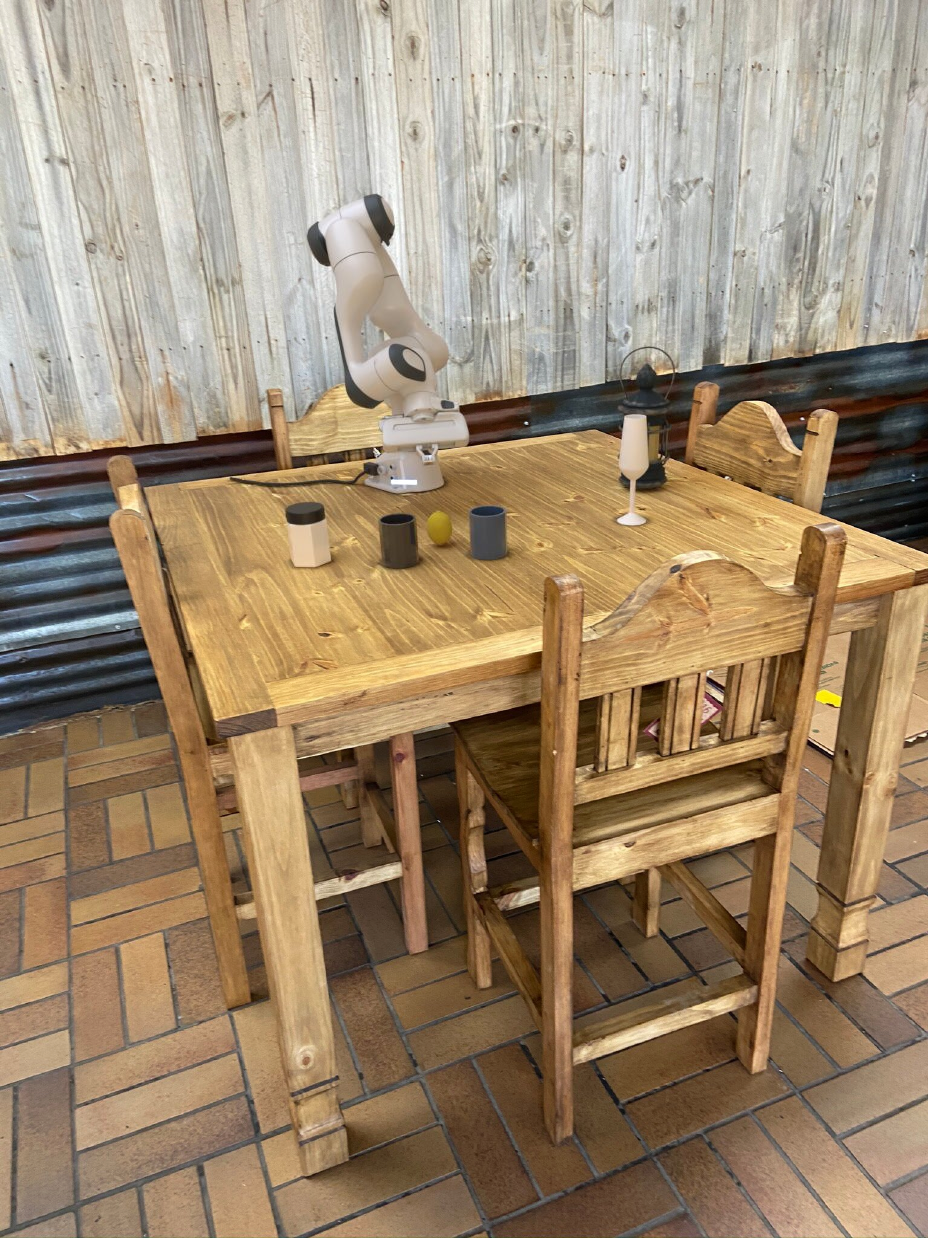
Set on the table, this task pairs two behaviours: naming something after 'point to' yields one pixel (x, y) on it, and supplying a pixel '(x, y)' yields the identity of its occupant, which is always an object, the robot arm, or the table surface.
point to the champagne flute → (633, 460)
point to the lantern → (649, 423)
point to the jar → (307, 534)
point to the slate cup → (488, 532)
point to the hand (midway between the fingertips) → (428, 463)
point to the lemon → (439, 527)
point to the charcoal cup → (398, 540)
